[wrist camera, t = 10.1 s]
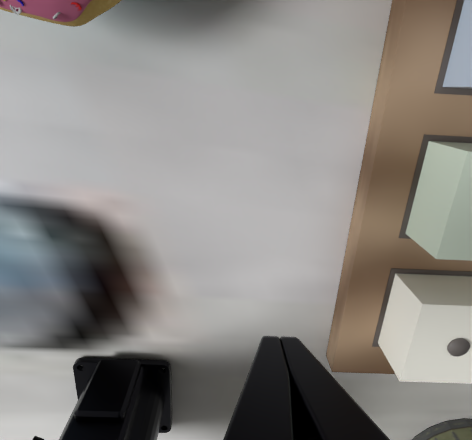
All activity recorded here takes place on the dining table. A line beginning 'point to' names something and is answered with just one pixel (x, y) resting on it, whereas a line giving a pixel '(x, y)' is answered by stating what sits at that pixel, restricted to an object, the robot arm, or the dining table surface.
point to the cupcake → (59, 9)
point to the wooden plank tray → (397, 177)
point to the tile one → (429, 328)
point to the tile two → (444, 202)
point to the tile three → (461, 52)
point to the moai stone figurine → (448, 431)
